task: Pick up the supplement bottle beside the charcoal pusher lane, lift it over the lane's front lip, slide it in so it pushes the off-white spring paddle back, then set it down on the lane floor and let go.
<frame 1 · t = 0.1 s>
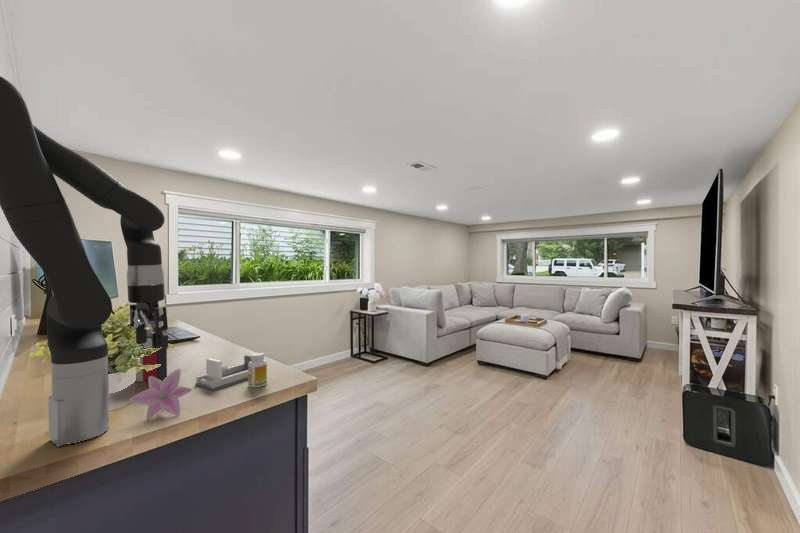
hand: (149, 345, 87), 17 cm above the worktop, tool pointing down, fingers open, 8 cm apart
supplement bottle: (257, 385, 107), on the worktop
lily: (163, 413, 87), on the worktop
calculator: (149, 382, 110), on the worktop
spring paddle: (218, 369, 108), point 4 cm above the worktop, slide at 0.0 cm
pusher lane: (230, 379, 112), on the worktop
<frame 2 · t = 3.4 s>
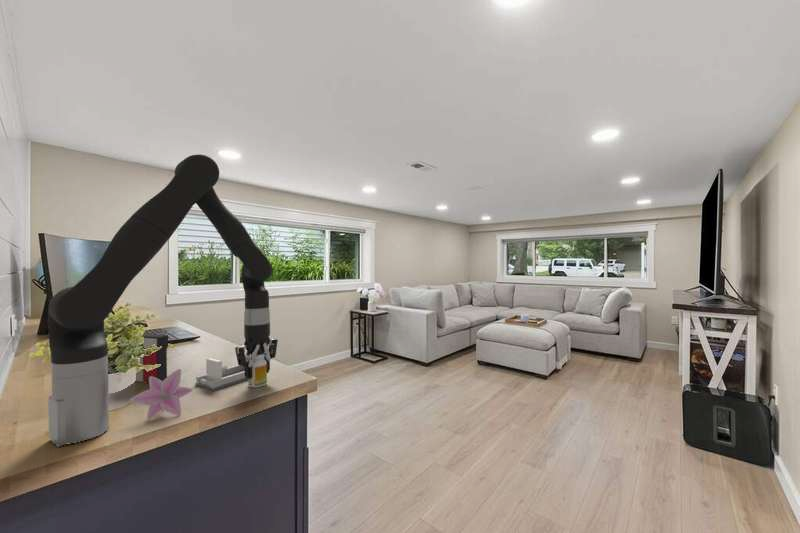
hand: (257, 375, 107), 3 cm above the worktop, tool pointing down, fingers closed on supplement bottle, 5 cm apart
supplement bottle: (257, 385, 107), on the worktop, touching gripper
everything else where it was.
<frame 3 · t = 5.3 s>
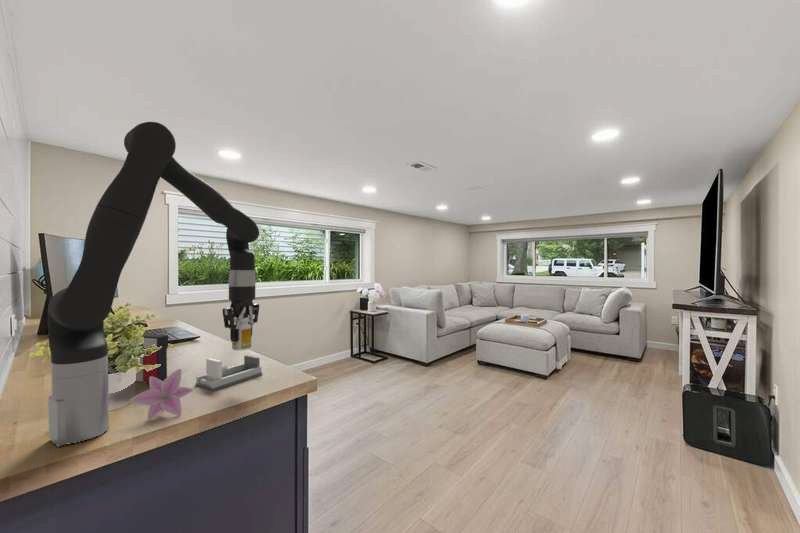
hand: (241, 339, 105), 15 cm above the worktop, tool pointing down, fingers closed on supplement bottle, 5 cm apart
supplement bottle: (241, 349, 105), point 12 cm above the worktop, touching gripper
everything else where it was.
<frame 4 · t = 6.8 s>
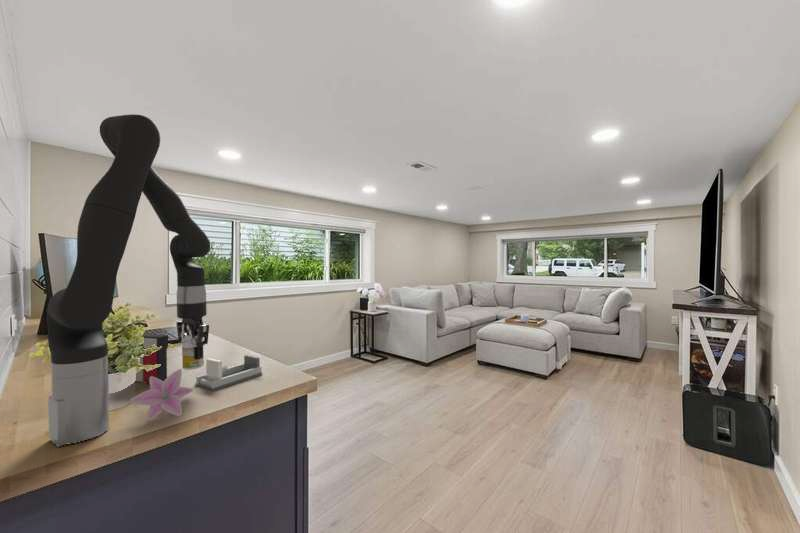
hand: (193, 357, 101), 10 cm above the worktop, tool pointing down, fingers closed on supplement bottle, 5 cm apart
supplement bottle: (193, 367, 101), point 7 cm above the worktop, touching gripper
everything else where it was.
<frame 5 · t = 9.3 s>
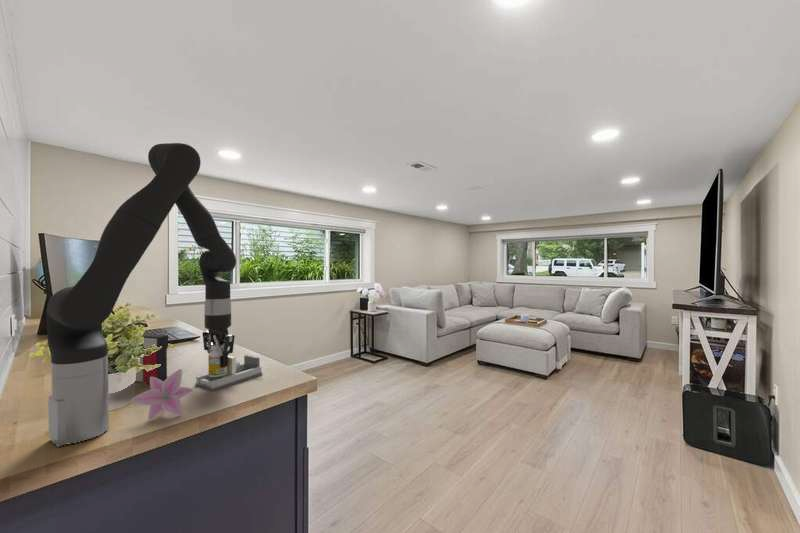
hand: (218, 365, 108), 6 cm above the worktop, tool pointing down, fingers closed on supplement bottle, 5 cm apart
supplement bottle: (218, 375, 108), point 3 cm above the worktop, touching gripper, spring paddle
spring paddle: (232, 365, 112), point 4 cm above the worktop, slide at 4.7 cm, touching supplement bottle
everything else where it was.
when the fingers open (4 cm above the worktop, at t = 10.5 s): supplement bottle stays where it is, resting on pusher lane, spring paddle.
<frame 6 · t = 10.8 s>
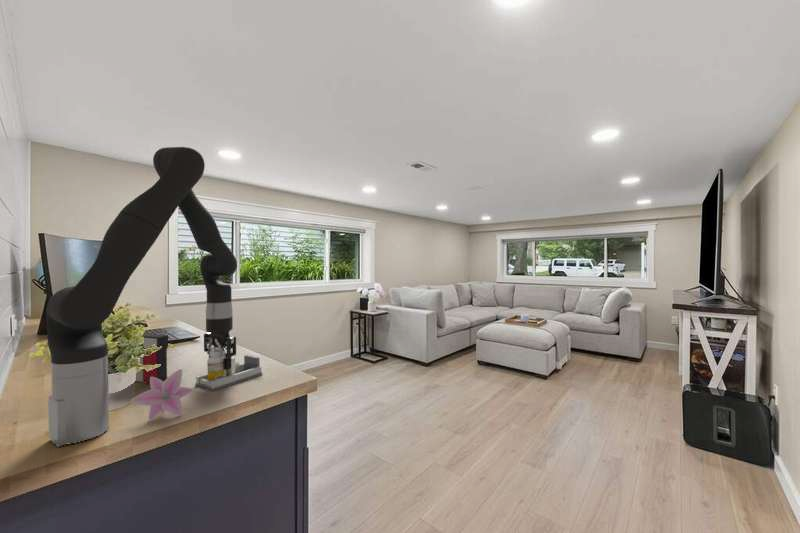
hand: (219, 367, 108), 5 cm above the worktop, tool pointing down, fingers open, 7 cm apart
supplement bottle: (217, 381, 108), point 1 cm above the worktop, touching pusher lane, spring paddle
everything else where it was.
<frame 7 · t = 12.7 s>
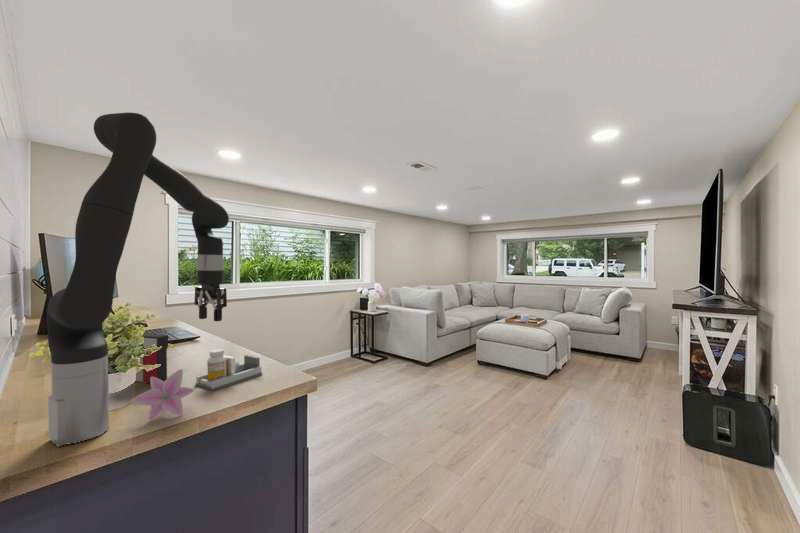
hand: (210, 319, 108), 20 cm above the worktop, tool pointing down, fingers open, 8 cm apart
nothing on the worktop moved.
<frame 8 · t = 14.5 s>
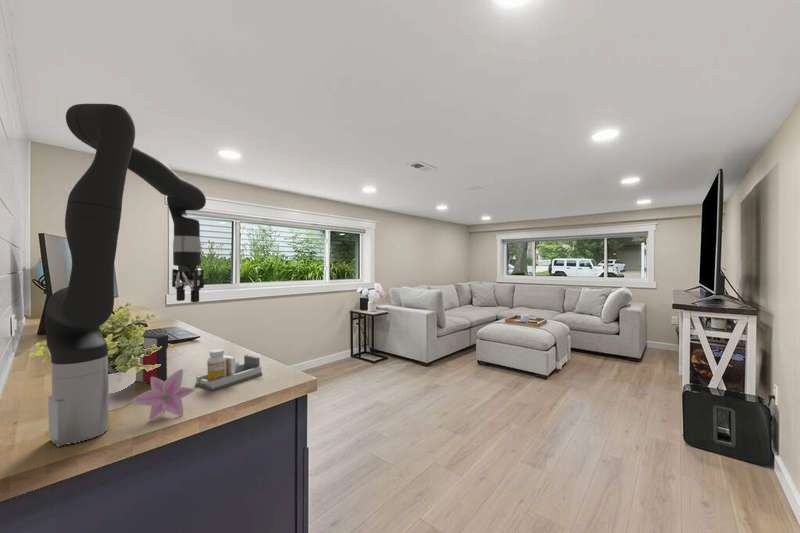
hand: (187, 301, 108), 26 cm above the worktop, tool pointing down, fingers open, 8 cm apart
nothing on the worktop moved.
at the end: supplement bottle 0.8 cm from the target spot, point 0.7 cm above the worktop; spring paddle slide at 4.4 cm; supplement bottle tilted 1° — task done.
